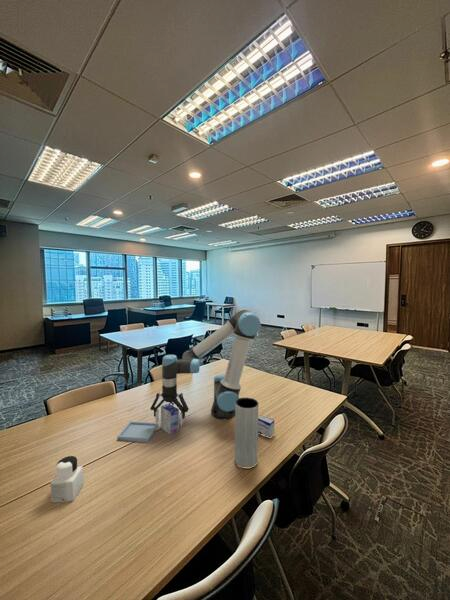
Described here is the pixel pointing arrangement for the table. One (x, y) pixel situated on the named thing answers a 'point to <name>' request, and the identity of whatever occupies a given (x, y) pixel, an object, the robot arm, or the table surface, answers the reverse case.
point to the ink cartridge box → (169, 418)
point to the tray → (138, 431)
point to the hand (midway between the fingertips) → (169, 423)
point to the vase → (246, 432)
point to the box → (265, 426)
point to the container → (66, 480)
